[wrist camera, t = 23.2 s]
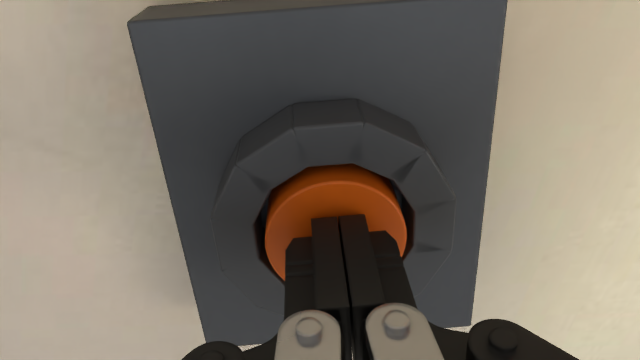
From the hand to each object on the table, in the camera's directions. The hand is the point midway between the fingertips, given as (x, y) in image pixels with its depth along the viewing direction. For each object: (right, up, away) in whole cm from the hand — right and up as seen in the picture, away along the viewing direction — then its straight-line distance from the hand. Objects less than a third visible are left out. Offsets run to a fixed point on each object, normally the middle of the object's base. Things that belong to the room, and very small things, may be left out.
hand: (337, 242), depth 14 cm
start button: (0, +1, +2) cm, 2 cm away
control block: (0, +2, +4) cm, 4 cm away
